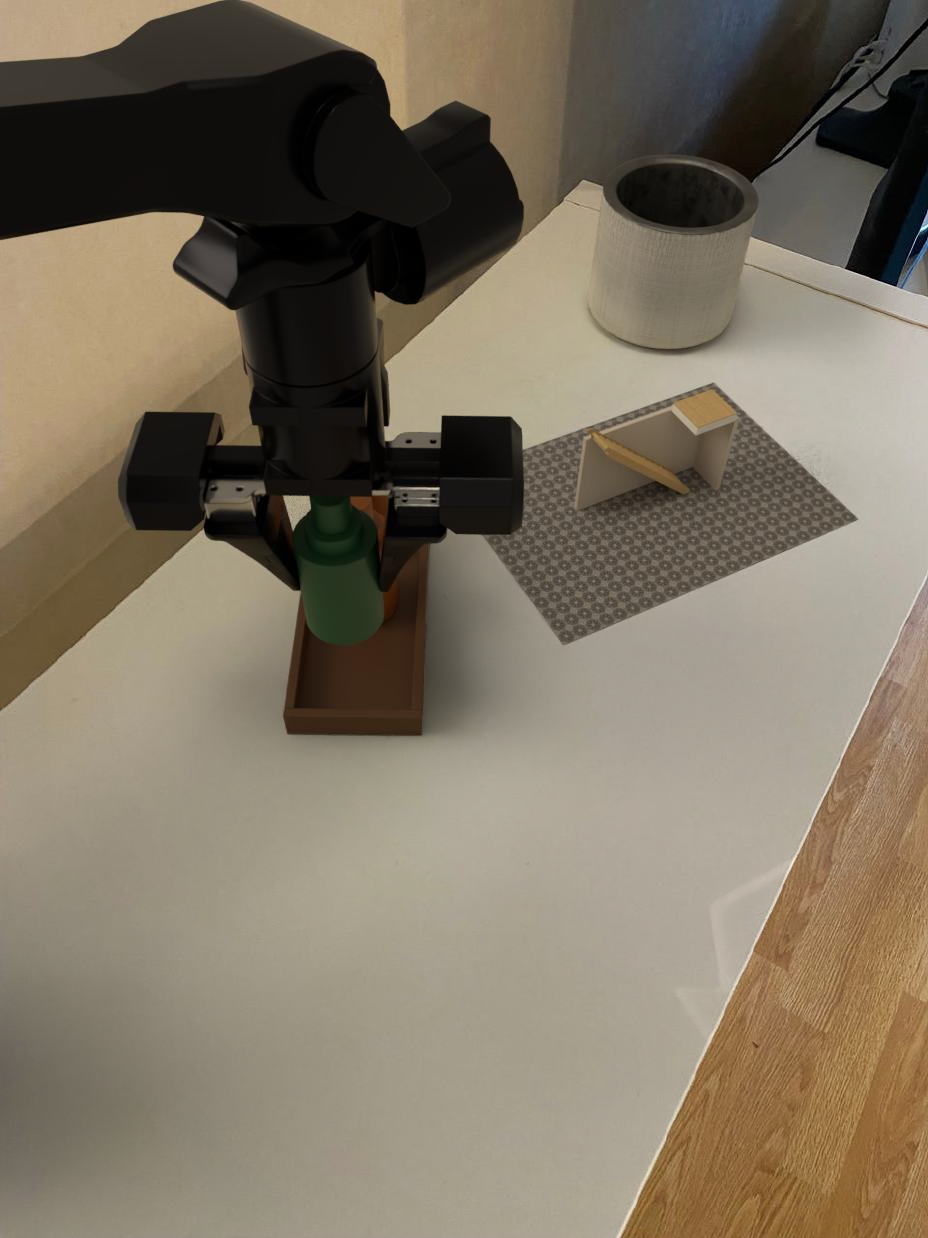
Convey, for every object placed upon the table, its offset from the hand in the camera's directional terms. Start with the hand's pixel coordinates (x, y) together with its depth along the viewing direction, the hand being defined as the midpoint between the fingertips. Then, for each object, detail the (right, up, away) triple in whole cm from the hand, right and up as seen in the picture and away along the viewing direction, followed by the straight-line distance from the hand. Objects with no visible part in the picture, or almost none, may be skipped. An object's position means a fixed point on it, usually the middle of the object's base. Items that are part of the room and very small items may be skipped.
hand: (342, 585), depth 55 cm
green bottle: (0, -2, +2) cm, 2 cm away
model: (+20, +7, +20) cm, 29 cm away
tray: (0, -1, +13) cm, 13 cm away
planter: (+24, +25, +34) cm, 49 cm away
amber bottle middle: (0, -1, +12) cm, 12 cm away
